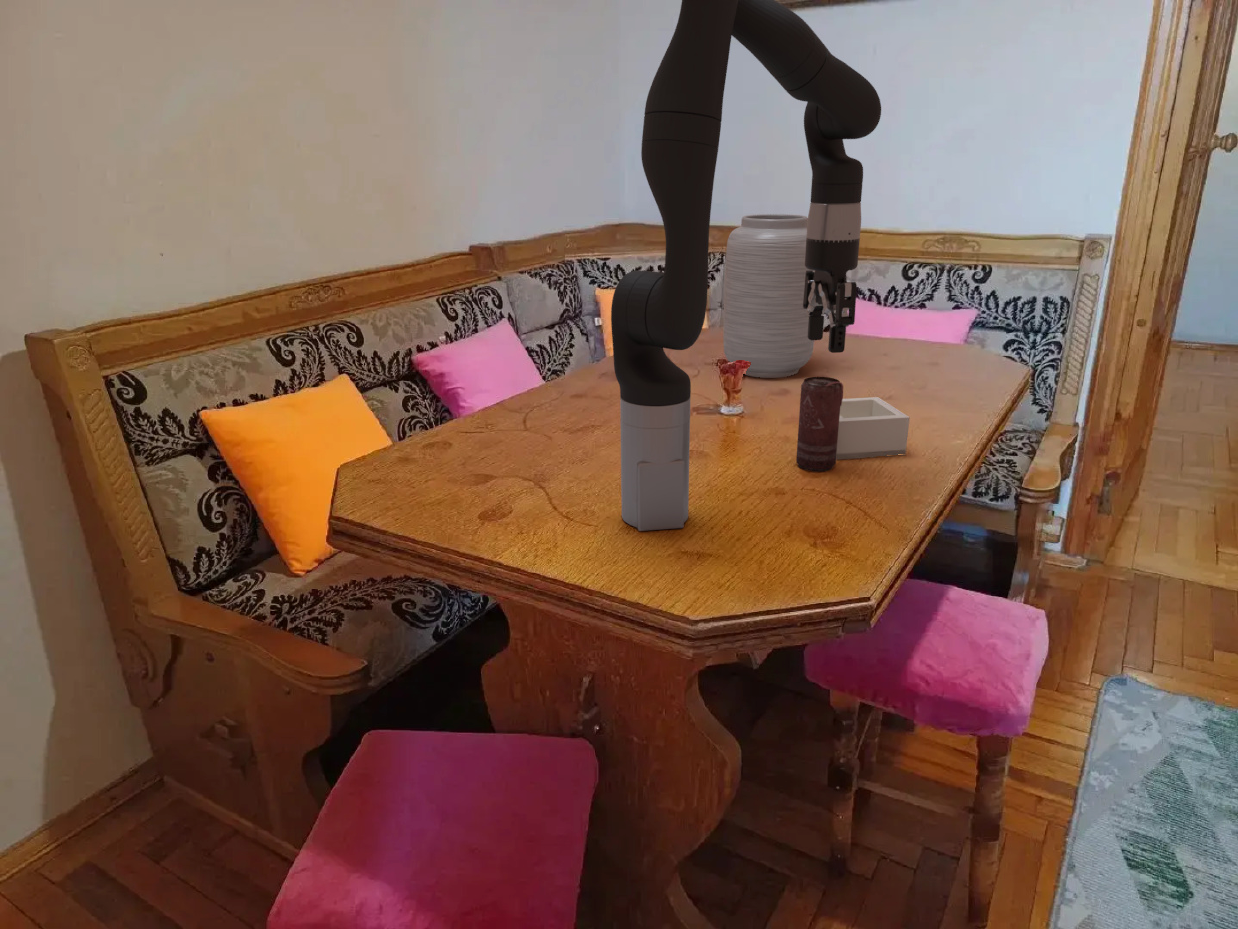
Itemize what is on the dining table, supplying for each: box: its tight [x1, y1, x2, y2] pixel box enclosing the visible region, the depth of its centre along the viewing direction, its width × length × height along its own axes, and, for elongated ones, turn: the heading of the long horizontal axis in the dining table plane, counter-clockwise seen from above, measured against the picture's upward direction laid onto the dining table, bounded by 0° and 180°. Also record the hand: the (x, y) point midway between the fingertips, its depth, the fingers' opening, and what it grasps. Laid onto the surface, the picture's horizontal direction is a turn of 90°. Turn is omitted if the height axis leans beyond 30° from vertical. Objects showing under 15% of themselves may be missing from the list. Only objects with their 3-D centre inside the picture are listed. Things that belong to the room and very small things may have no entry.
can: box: [795, 376, 844, 473], centre depth 132 cm, size 6×6×14 cm
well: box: [836, 396, 911, 461], centre depth 142 cm, size 12×12×6 cm
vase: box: [722, 213, 815, 379], centre depth 186 cm, size 20×20×34 cm
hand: (825, 345), depth 128 cm, fingers open, 8 cm apart
